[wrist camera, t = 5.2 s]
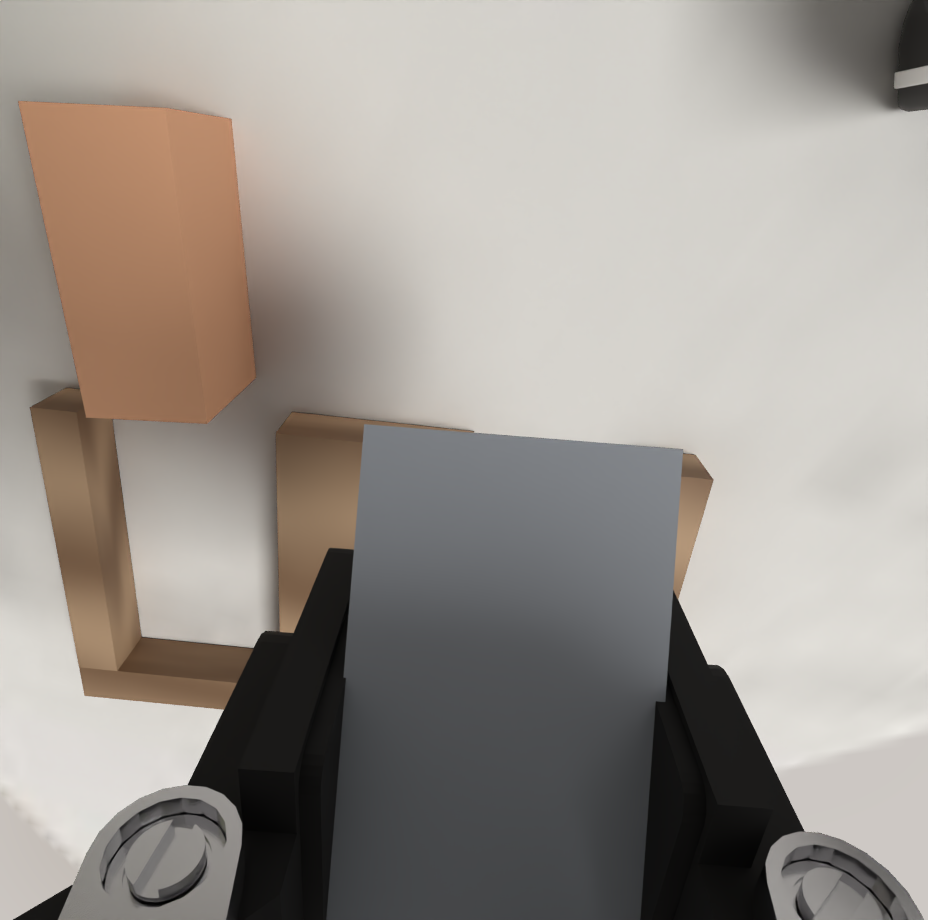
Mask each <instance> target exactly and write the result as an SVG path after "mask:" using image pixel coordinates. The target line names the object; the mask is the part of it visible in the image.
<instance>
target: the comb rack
mask: <svg viewBox="0 0 928 920" xmlns="http://www.w3.org/2000/svg"><path fill="white" fill-rule="evenodd" d="M30 410H31V416H32V421H33V426H34V432H35V437H36V442H37V447H38V453H39V458H40V463H41V468H42V474H43V479H44V484H45V489H46V495H47V500H48V505H49V510H50V516H51V521H52V526H53V532H54V537H55V542H56V547H57V553H58V558H59V563H60V568H61V574H62V579H63V584H64V589H65V595H66V600H67V605H68V611H69V616H70V621H71V626H72V632H73V637H74V642H75V647H76V653H77V658H78V663H79V668H80V674H81V679H82V684H83V690H84V695H85V696H93V697H103V698H113V699H123V700H133V701H143V702H153V703H163V704H174V705H184V706H194V707H204V708H214V709H225V707H226V705H227V703H228V701H229V698H230V696H231V694H232V692H233V690H234V688H235V686H236V684H237V682H238V680H239V678H240V676H241V674H242V672H243V669H244V667H245V665H246V663H247V661H248V659H249V657H250V655H251V653H252V651H253V649H251V648H241V647H231V646H221V645H211V644H201V643H191V642H181V641H172V640H162V639H152V638H142V637H141V630H140V623H139V615H138V608H137V600H136V593H135V585H134V578H133V570H132V563H131V556H130V548H129V541H128V533H127V526H126V518H125V511H124V503H123V496H122V488H121V481H120V474H119V466H118V459H117V451H116V444H115V436H114V429H113V421H112V419H104V418H86V414H85V410H84V405H83V400H82V396H81V391H80V389H72V388H65V389H63V390H61V391H59V392H57V393H56V394H54V395H52V396H50V397H48V398H46V399H44V400H43V401H41V402H39V403H37V404H35V405H33V406H31V407H30ZM364 424H368V425H381V426H394V427H406V428H419V429H432V430H444V431H457V432H470V433H474V431H465V430H456V429H447V428H437V427H428V426H419V425H409V424H400V423H390V422H381V421H372V420H362V419H353V418H344V417H334V416H325V415H316V414H306V413H297V412H292V413H291V414H290V415H289V417H288V418H287V419H286V421H285V422H284V423H283V424H282V426H281V427H280V428H279V430H278V431H277V432H276V476H277V524H278V572H279V620H280V632H287V633H294V631H295V628H296V626H297V623H298V621H299V619H300V616H301V614H302V611H303V609H304V606H305V604H306V602H307V599H308V597H309V594H310V592H311V589H312V587H313V585H314V582H315V580H316V577H317V575H318V572H319V570H320V568H321V565H322V563H323V560H324V558H325V556H326V553H327V551H328V549H329V548H341V549H354V543H355V530H356V518H357V506H358V494H359V482H360V470H361V457H362V445H363V433H364ZM712 483H713V479H712V477H711V476H710V474H709V473H708V472H707V470H706V469H705V467H704V466H703V465H702V463H701V462H700V460H699V459H698V458H697V456H696V455H690V454H683V459H682V473H681V487H680V501H679V515H678V529H677V543H676V558H675V572H674V586H673V590H674V592H675V594H676V597H677V599H678V598H679V595H680V591H681V588H682V584H683V581H684V578H685V574H686V571H687V568H688V564H689V561H690V557H691V554H692V551H693V547H694V544H695V541H696V537H697V534H698V530H699V527H700V524H701V520H702V517H703V514H704V510H705V507H706V503H707V500H708V497H709V493H710V490H711V487H712Z"/></svg>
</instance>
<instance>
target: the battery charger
mask: <svg viewBox="0 0 928 920" xmlns="http://www.w3.org/2000/svg"><path fill="white" fill-rule="evenodd" d="M894 89H898V105H899V107H900V108H901V109H902V110H905V111H908V112H910V111H918V110H926V109H928V0H913V1H912V3H911V5H910V7H909V10H908V12H907V15H906V18H905V21H904V24H903V30H902V35H901V39H900V43H899V66H898V72H896V73H895V75H894Z"/></svg>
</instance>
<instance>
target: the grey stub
mask: <svg viewBox="0 0 928 920" xmlns="http://www.w3.org/2000/svg"><path fill="white" fill-rule="evenodd" d="M682 459H683V449H673V448H660V447H647V446H634V445H622V444H609V443H596V442H584V441H571V440H558V439H546V438H533V437H520V436H508V435H495V434H482V433H470V432H457V431H444V430H432V429H419V428H406V427H394V426H381V425H368V424H364V433H363V445H362V457H361V470H360V482H359V494H358V506H357V518H356V530H355V543H354V555H353V567H352V579H351V591H350V603H349V616H348V628H347V640H346V652H345V664H344V676H343V678H346V683H345V695H344V707H343V720H342V732H341V744H340V757H339V769H338V781H337V793H336V806H335V818H334V830H333V843H332V855H331V867H330V879H329V892H328V904H327V916H326V920H640V917H641V903H642V889H643V875H644V860H645V846H646V832H647V818H648V804H649V790H650V776H651V762H652V747H653V733H654V719H655V705H656V701H658V702H665V699H666V685H667V671H668V656H669V642H670V628H671V614H672V600H673V586H674V572H675V558H676V543H677V529H678V515H679V501H680V487H681V473H682Z"/></svg>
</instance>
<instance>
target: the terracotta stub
mask: <svg viewBox="0 0 928 920" xmlns="http://www.w3.org/2000/svg"><path fill="white" fill-rule="evenodd" d="M18 103H19V108H20V112H21V117H22V121H23V126H24V131H25V135H26V140H27V145H28V149H29V154H30V159H31V163H32V168H33V173H34V177H35V182H36V187H37V191H38V196H39V200H40V205H41V210H42V214H43V219H44V224H45V228H46V233H47V238H48V242H49V247H50V252H51V256H52V261H53V266H54V270H55V275H56V280H57V284H58V289H59V293H60V298H61V303H62V307H63V312H64V317H65V321H66V326H67V331H68V335H69V340H70V345H71V349H72V354H73V359H74V363H75V368H76V373H77V377H78V382H79V386H80V391H81V396H82V400H83V405H84V410H85V414H86V418H104V419H123V420H143V421H163V422H182V423H202V424H207V423H209V422H210V421H211V420H212V419H213V418H214V417H215V416H216V415H217V414H218V413H219V412H220V411H221V410H222V409H223V408H224V407H226V406H227V405H228V404H229V403H230V402H231V401H232V400H233V399H234V398H235V397H236V396H237V395H238V394H239V393H240V392H242V391H243V390H244V389H245V388H246V387H247V386H248V385H249V384H250V383H251V382H252V381H253V380H254V379H255V378H256V372H255V362H254V351H253V341H252V330H251V320H250V309H249V299H248V288H247V278H246V268H245V257H244V247H243V236H242V226H241V215H240V205H239V194H238V184H237V173H236V163H235V152H234V142H233V131H232V121H231V119H228V118H222V117H216V116H210V115H205V114H199V113H193V112H187V111H181V110H175V109H169V108H158V107H136V106H115V105H93V104H72V103H50V102H28V101H18Z"/></svg>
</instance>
